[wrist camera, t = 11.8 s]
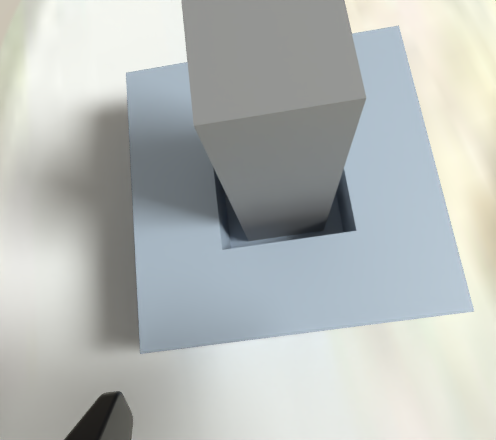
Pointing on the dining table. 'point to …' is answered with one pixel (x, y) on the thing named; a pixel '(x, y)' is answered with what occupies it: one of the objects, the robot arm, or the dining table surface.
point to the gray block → (274, 105)
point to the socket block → (294, 246)
